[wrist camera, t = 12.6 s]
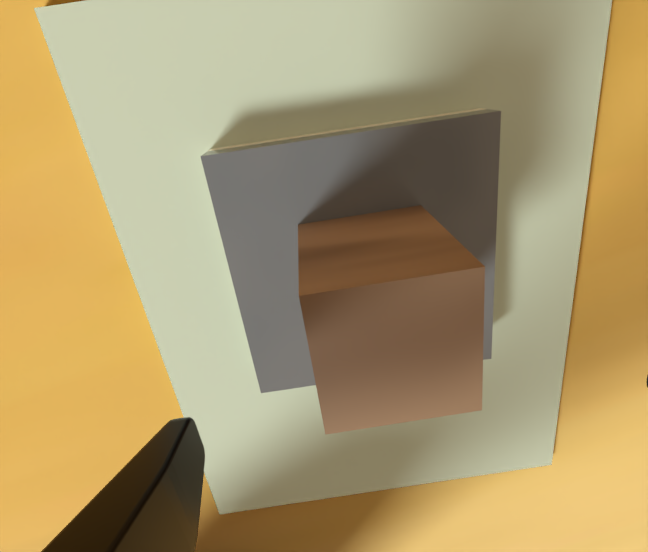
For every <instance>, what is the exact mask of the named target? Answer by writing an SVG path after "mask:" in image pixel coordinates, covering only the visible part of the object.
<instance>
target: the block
mask: <svg viewBox="0 0 648 552" xmlns="http://www.w3.org/2000/svg"><path fill="white" fill-rule="evenodd" d="M298 274H299V300H300V305H301V310H302V315H303V320H304V326H305V331H306V336H307V341H308V346H309V352H310V357H311V362H312V367H313V373H314V378H315V383H316V388H317V393H318V399H319V404H320V409H321V414H322V419H323V425H324V430H325V435H326V434H333V433H339V432H346V431H352V430H359V429H365V428H371V427H378V426H384V425H391V424H397V423H404V422H410V421H416V420H423V419H429V418H436V417H442V416H449V415H455V414H461V413H468V412H474V411H481V410H482V388H483V340H484V292H485V266H484V265H483V264H482V263H481V262H480V261H479V260H478V259H476V258H475V257H474V256H473V255H472V254H471V253H470V252H469V251H468V250H467V249H466V248H465V247H464V246H463V245H462V244H461V243H460V242H459V241H458V240H457V239H456V238H455V237H454V236H453V235H451V234H450V233H449V232H448V231H447V230H446V229H445V228H444V227H443V226H442V225H441V224H440V223H439V222H438V221H437V220H436V219H435V218H434V217H433V216H432V215H431V214H430V213H429V212H428V211H426V210H425V209H424V208H423V207H422V206H421V205H419V206H413V207H406V208H400V209H394V210H387V211H381V212H375V213H368V214H362V215H356V216H349V217H343V218H337V219H330V220H324V221H318V222H311V223H305V224H299V225H298Z"/></svg>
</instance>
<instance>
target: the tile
mask: <svg viewBox="0 0 648 552" xmlns="http://www.w3.org/2000/svg"><path fill="white" fill-rule="evenodd" d="M500 127H501V111H499V110H491V109H483V108H477V109H470V110H464V111H457V112H451V113H444V114H437V115H431V116H424V117H418V118H411V119H404V120H398V121H391V122H385V123H378V124H371V125H365V126H358V127H352V128H345V129H338V130H332V131H325V132H319V133H312V134H305V135H299V136H292V137H286V138H279V139H272V140H266V141H259V142H253V143H246V144H239V145H233V146H226V147H220V148H213V149H210V150H208V151H207V152H206V153H204V154H203V155H202V156H200V157H201V161H202V165H203V169H204V173H205V176H206V180H207V184H208V188H209V192H210V196H211V200H212V204H213V208H214V212H215V216H216V219H217V223H218V227H219V231H220V235H221V239H222V243H223V247H224V251H225V255H226V259H227V262H228V266H229V270H230V274H231V278H232V282H233V286H234V290H235V294H236V298H237V301H238V305H239V309H240V313H241V317H242V321H243V325H244V329H245V333H246V337H247V341H248V344H249V348H250V352H251V356H252V360H253V364H254V368H255V372H256V376H257V380H258V384H259V387H260V391H261V393H267V392H273V391H280V390H287V389H293V388H300V387H306V386H313V385H316V383H315V378H314V373H313V367H312V362H311V357H310V352H309V346H308V341H307V336H306V331H305V326H304V320H303V315H302V310H301V305H300V300H299V274H298V225H299V224H305V223H311V222H318V221H324V220H330V219H337V218H343V217H349V216H356V215H362V214H368V213H375V212H381V211H387V210H394V209H400V208H406V207H413V206H419V205H421V206H422V207H423V208H424V209H425V210H426V211H428V212H429V213H430V214H431V215H432V216H433V217H434V218H435V219H436V220H437V221H438V222H439V223H440V224H441V225H442V226H443V227H444V228H445V229H446V230H447V231H448V232H449V233H450V234H451V235H453V236H454V237H455V238H456V239H457V240H458V241H459V242H460V243H461V244H462V245H463V246H464V247H465V248H466V249H467V250H468V251H469V252H470V253H471V254H472V255H473V256H474V257H475V258H476V259H478V260H479V261H480V262H481V263H482V264H483V265H484V266H485V292H484V340H483V360H486V359H491V356H492V331H493V305H494V280H495V254H496V229H497V203H498V178H499V153H500Z"/></svg>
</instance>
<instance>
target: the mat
mask: <svg viewBox="0 0 648 552" xmlns="http://www.w3.org/2000/svg"><path fill="white" fill-rule="evenodd" d="M611 6H612V0H85V1H78V2H72V3H65V4H59V5H52V6H45V7H39V8H34V10H35V12H36V15H37V18H38V20H39V23H40V26H41V29H42V31H43V34H44V37H45V40H46V42H47V45H48V48H49V50H50V53H51V56H52V59H53V61H54V64H55V67H56V70H57V72H58V75H59V78H60V80H61V83H62V86H63V89H64V91H65V94H66V97H67V100H68V102H69V105H70V108H71V110H72V113H73V116H74V119H75V121H76V124H77V127H78V130H79V132H80V135H81V138H82V140H83V143H84V146H85V149H86V151H87V154H88V157H89V160H90V162H91V165H92V168H93V170H94V173H95V176H96V179H97V181H98V184H99V187H100V190H101V192H102V195H103V198H104V200H105V203H106V206H107V209H108V211H109V214H110V217H111V220H112V222H113V225H114V228H115V230H116V233H117V236H118V239H119V241H120V244H121V247H122V250H123V252H124V255H125V258H126V261H127V263H128V266H129V269H130V271H131V274H132V277H133V280H134V282H135V285H136V288H137V291H138V293H139V296H140V299H141V301H142V304H143V307H144V310H145V312H146V315H147V318H148V321H149V323H150V326H151V329H152V331H153V334H154V337H155V340H156V342H157V345H158V348H159V351H160V353H161V356H162V359H163V361H164V364H165V367H166V370H167V372H168V375H169V378H170V381H171V383H172V386H173V389H174V391H175V394H176V397H177V400H178V402H179V405H180V408H181V411H182V413H183V416H184V418H185V417H190V418H192V419H193V420H194V421H195V424H196V426H197V429H198V432H199V435H200V438H201V440H202V443H203V446H204V450H205V465H204V473H205V476H206V479H207V481H208V484H209V487H210V490H211V492H212V495H213V498H214V501H215V503H216V506H217V509H218V511H219V514H226V513H233V512H240V511H246V510H253V509H260V508H266V507H273V506H280V505H286V504H293V503H300V502H306V501H313V500H320V499H326V498H333V497H340V496H347V495H353V494H360V493H367V492H373V491H380V490H387V489H393V488H400V487H407V486H413V485H420V484H427V483H433V482H440V481H447V480H453V479H460V478H467V477H473V476H480V475H487V474H493V473H500V472H507V471H513V470H520V469H527V468H533V467H540V466H547V465H552V457H553V450H554V442H555V434H556V427H557V419H558V411H559V404H560V396H561V388H562V381H563V373H564V365H565V358H566V350H567V343H568V335H569V327H570V320H571V312H572V304H573V297H574V289H575V281H576V274H577V266H578V258H579V251H580V243H581V235H582V228H583V220H584V212H585V205H586V197H587V189H588V182H589V174H590V166H591V159H592V151H593V143H594V136H595V128H596V121H597V113H598V105H599V98H600V90H601V82H602V75H603V67H604V59H605V52H606V44H607V36H608V29H609V21H610V13H611ZM477 108H483V109H491V110H499V111H501V127H500V153H499V178H498V203H497V229H496V254H495V280H494V305H493V331H492V356H491V359H486V360H483V388H482V410H481V411H474V412H468V413H461V414H455V415H449V416H442V417H436V418H429V419H423V420H416V421H410V422H404V423H397V424H391V425H384V426H378V427H371V428H365V429H359V430H352V431H346V432H339V433H333V434H326V435H325V430H324V425H323V419H322V414H321V409H320V404H319V399H318V393H317V388H316V385H313V386H306V387H300V388H293V389H287V390H280V391H273V392H267V393H261V391H260V387H259V384H258V380H257V376H256V372H255V368H254V364H253V360H252V356H251V352H250V348H249V344H248V341H247V337H246V333H245V329H244V325H243V321H242V317H241V313H240V309H239V305H238V301H237V298H236V294H235V290H234V286H233V282H232V278H231V274H230V270H229V266H228V262H227V259H226V255H225V251H224V247H223V243H222V239H221V235H220V231H219V227H218V223H217V219H216V216H215V212H214V208H213V204H212V200H211V196H210V192H209V188H208V184H207V180H206V176H205V173H204V169H203V165H202V161H201V157H200V156H202V155H203V154H204V153H206V152H207V151H208V150H210V149H213V148H220V147H226V146H233V145H239V144H246V143H253V142H259V141H266V140H272V139H279V138H286V137H292V136H299V135H305V134H312V133H319V132H325V131H332V130H338V129H345V128H352V127H358V126H365V125H371V124H378V123H385V122H391V121H398V120H404V119H411V118H418V117H424V116H431V115H437V114H444V113H451V112H457V111H464V110H470V109H477Z"/></svg>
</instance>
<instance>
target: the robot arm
mask: <svg viewBox="0 0 648 552" xmlns="http://www.w3.org/2000/svg"><path fill="white" fill-rule="evenodd" d="M647 387H648V376H647ZM204 465H205V450H204V446H203V443H202V440H201V438H200V435H199V432H198V429H197V426H196V424H195V421H194V420H193V419H192V418H190V417H185V418H179V419H173V420H170V421H169V422H168V423H167V424H166V425H165V426H164V427H163V428H162V429H161V430H160V431H159V432H158V433H157V434H156V435H155V436H154V437H153V438H152V439H151V440H150V441H149V442H148V443H147V444H146V445H145V446H144V447H143V448H142V449H141V450H140V451H139V452H138V453H137V454H136V455H135V456H134V457H133V458H132V459H131V460H130V461H129V462H128V463H127V464H126V466H125V467H124V468H123V469H122V470H121V471H120V472H119V473H118V474H117V475H116V476H115V477H114V478H113V479H112V480H111V481H110V482H109V483H108V484H107V485H106V486H105V487H104V488H103V489H102V490H101V491H100V492H99V493H98V494H97V495H96V496H95V497H94V498H93V499H92V500H91V501H90V502H89V503H88V504H87V505H86V506H85V507H84V508H83V509H82V510H81V511H80V513H79V514H78V515H77V516H76V517H75V518H74V519H73V520H72V521H71V522H70V523H69V524H68V525H67V526H66V527H65V528H64V529H63V530H62V531H61V532H60V533H59V534H58V535H57V536H56V537H55V538H54V539H53V540H52V541H51V542H50V543H49V544H48V545H47V546H46V547H45V548H44V549H43V550H42V551H41V552H195V547H196V542H197V534H198V525H199V515H200V505H201V495H202V485H203V475H204Z"/></svg>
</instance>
